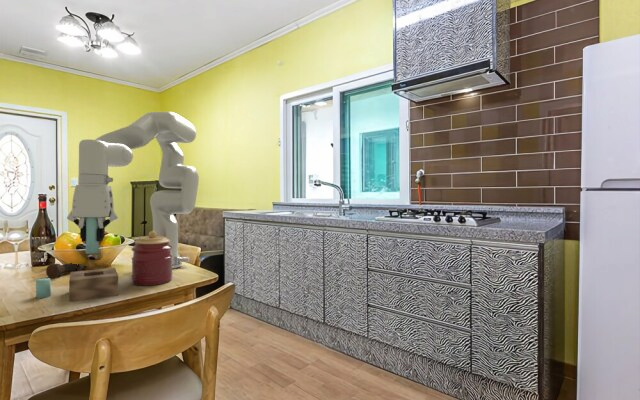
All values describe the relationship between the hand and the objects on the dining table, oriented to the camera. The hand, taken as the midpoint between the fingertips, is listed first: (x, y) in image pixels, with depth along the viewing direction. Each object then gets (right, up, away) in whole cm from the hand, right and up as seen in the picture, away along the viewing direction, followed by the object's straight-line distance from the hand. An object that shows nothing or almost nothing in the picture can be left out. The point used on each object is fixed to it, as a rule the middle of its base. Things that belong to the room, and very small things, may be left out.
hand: (92, 240), depth 107 cm
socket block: (0, -16, +1) cm, 16 cm away
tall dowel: (0, -4, 0) cm, 4 cm away
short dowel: (-13, -16, -3) cm, 21 cm away
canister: (+11, -16, +16) cm, 25 cm away
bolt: (-25, -16, +25) cm, 39 cm away
